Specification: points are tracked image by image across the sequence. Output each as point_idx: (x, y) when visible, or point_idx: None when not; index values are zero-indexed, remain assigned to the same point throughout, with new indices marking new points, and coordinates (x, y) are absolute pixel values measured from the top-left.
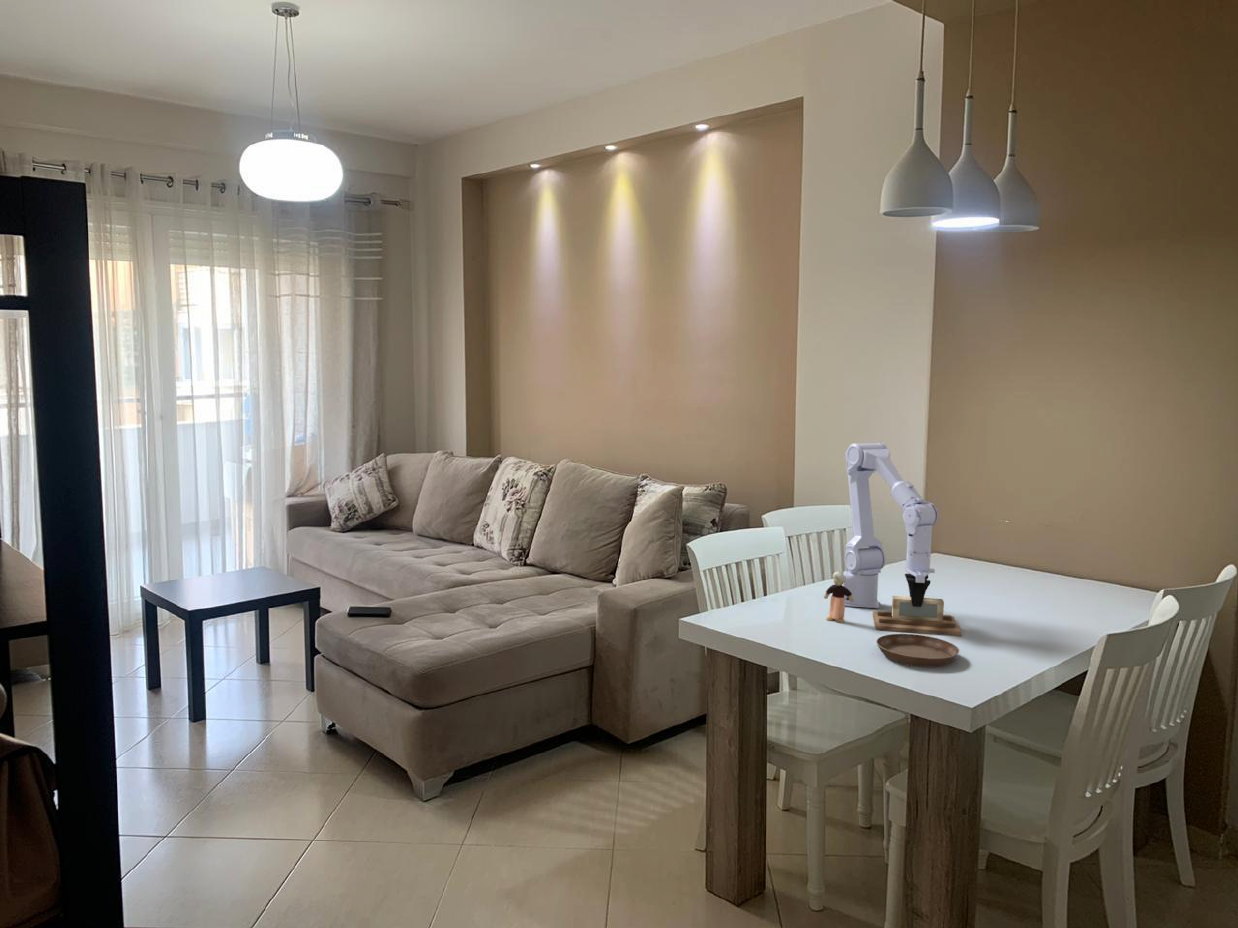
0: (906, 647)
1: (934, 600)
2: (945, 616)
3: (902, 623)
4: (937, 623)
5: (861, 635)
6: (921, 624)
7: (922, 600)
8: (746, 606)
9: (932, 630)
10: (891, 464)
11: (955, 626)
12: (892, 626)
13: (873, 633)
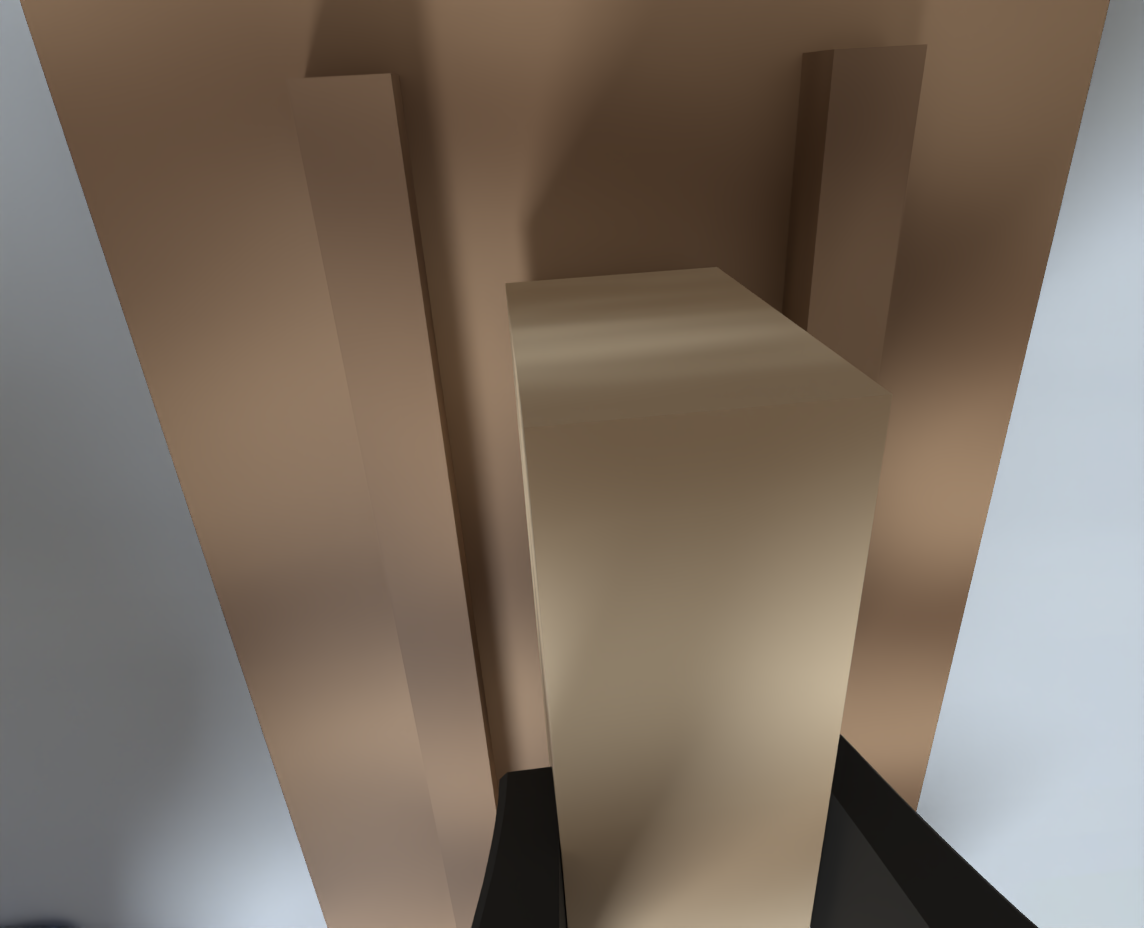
0: None
1: (764, 614)
2: (411, 207)
3: None
4: (876, 359)
5: (1044, 904)
6: None
7: (931, 832)
8: None
9: (1009, 405)
10: None
11: (789, 31)
12: (900, 783)
13: (986, 851)
